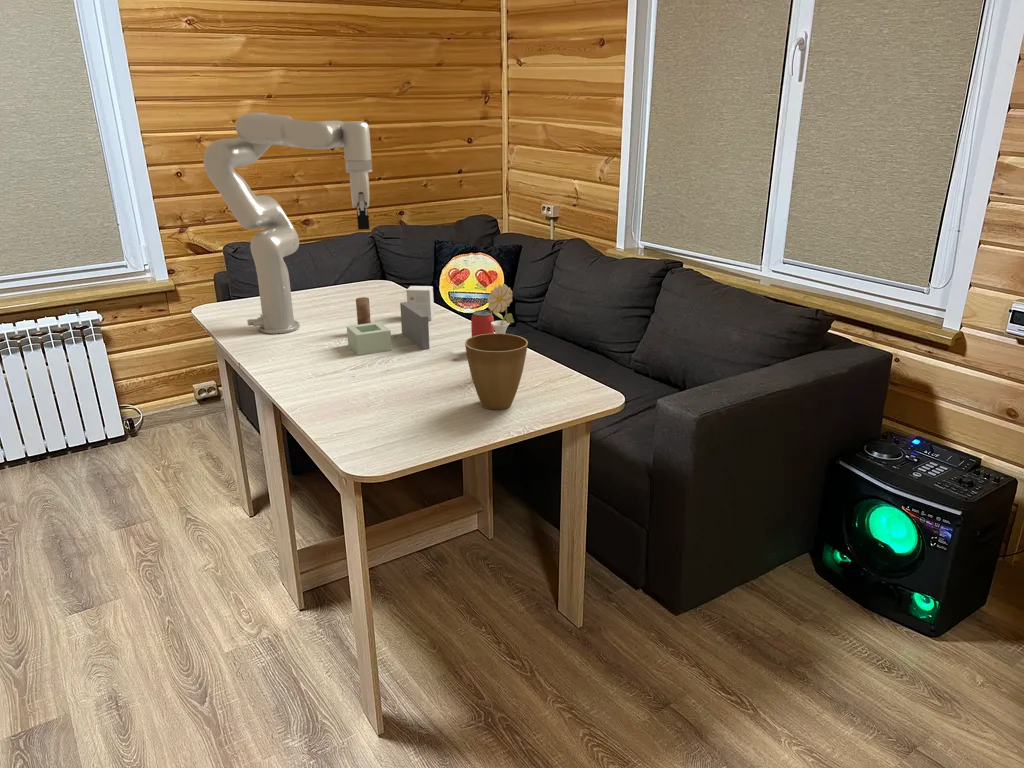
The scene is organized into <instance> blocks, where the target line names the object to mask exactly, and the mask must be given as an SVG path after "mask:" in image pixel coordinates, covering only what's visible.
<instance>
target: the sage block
mask: <svg viewBox="0 0 1024 768" xmlns="http://www.w3.org/2000/svg"><path fill="white" fill-rule="evenodd" d="M346 333H347V334H346V335H347V343H348V344H347V346H348V347H349V348H350V349H351V350H352V351H353V353H355V354H357V355H356V356H363V355H370V354H376V353H377V354H378V353H383V352H387V351H388V352H389V351H392V349H393V348H392V334H391V330H390V329H389V328H388V327H387V326H386V325H384V324H383V323H382V322H381V321H375V322H374V321H373V322H371V323H367V324H360V325H358V324H352V325H347V326H346Z"/></svg>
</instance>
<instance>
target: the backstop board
mask: <svg viewBox="0 0 1024 768" xmlns="http://www.w3.org/2000/svg"><path fill="white" fill-rule="evenodd" d="M399 305H400V320H401V321H400V322H401V324H400V325H401V334H402V335H403V336H404V337H406V338H407V340H409V341H410V342H412V343H413V344H415V345H416V346H417V347H419V348H420V349H421V350H423V351H424V350H425V351H427V350H430V327H429V326H430V325H429V320H428V316H427V315H425V314H424V313H422V312H421V311H419V310H418V309H416V308H415V307H413V306H412V305H410V304H409V303H407V301H402V302H400V303H399Z"/></svg>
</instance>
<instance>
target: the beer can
mask: <svg viewBox="0 0 1024 768" xmlns="http://www.w3.org/2000/svg"><path fill="white" fill-rule="evenodd" d="M493 321H495V318H494V315H493V311H490V310H485V309H484V310H483V309H481V310H475V311H473V312H472V316H471V322H470V324H471V325H470V327H471V330H470V331H471V337H473V336H477V335H482V334H495V330H494V328H493V326H492V325H491V322H493Z"/></svg>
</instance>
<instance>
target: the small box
mask: <svg viewBox="0 0 1024 768" xmlns="http://www.w3.org/2000/svg"><path fill="white" fill-rule="evenodd" d="M406 302H407V303H409V304H410V305H412V306H413V307H415V308H416V309H418V310H419V311H421V312H422V313H424V314H425V315H427V316H428V321H432V320H433V318H434V317H435V306H434V305H435V301H434V287H433V286H431V285H410V286H409V287H408V288H407V289H406Z"/></svg>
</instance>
